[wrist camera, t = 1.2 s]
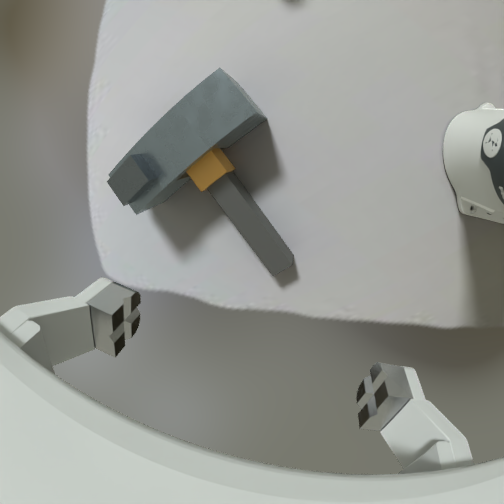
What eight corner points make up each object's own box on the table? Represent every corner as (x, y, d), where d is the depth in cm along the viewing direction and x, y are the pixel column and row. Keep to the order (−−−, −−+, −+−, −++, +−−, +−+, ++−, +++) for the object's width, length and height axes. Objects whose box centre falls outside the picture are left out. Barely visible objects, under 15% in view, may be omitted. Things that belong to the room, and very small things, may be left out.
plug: (297, 253, 41) (295, 265, 37) (272, 267, 43) (268, 281, 39) (209, 135, 37) (198, 134, 33) (187, 154, 39) (174, 155, 35)
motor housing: (267, 118, 35) (253, 108, 25) (163, 202, 42) (126, 219, 33) (236, 81, 34) (213, 62, 24) (139, 168, 41) (97, 177, 31)
